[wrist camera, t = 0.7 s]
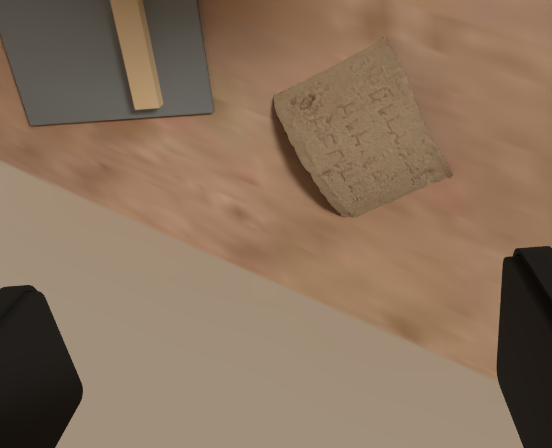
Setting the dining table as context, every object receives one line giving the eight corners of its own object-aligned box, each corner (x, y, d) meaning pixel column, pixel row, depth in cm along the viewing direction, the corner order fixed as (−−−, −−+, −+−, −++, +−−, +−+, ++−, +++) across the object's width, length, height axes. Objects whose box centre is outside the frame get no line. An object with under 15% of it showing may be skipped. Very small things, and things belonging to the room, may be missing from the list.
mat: (-50, -127, 36) (-65, -130, 34) (172, -159, 34) (165, -163, 32) (32, 124, 44) (23, 130, 43) (214, 111, 42) (210, 117, 41)
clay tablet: (455, 177, 43) (462, 190, 41) (348, 227, 47) (349, 242, 44) (378, 20, 38) (381, 25, 36) (264, 89, 42) (260, 97, 39)
